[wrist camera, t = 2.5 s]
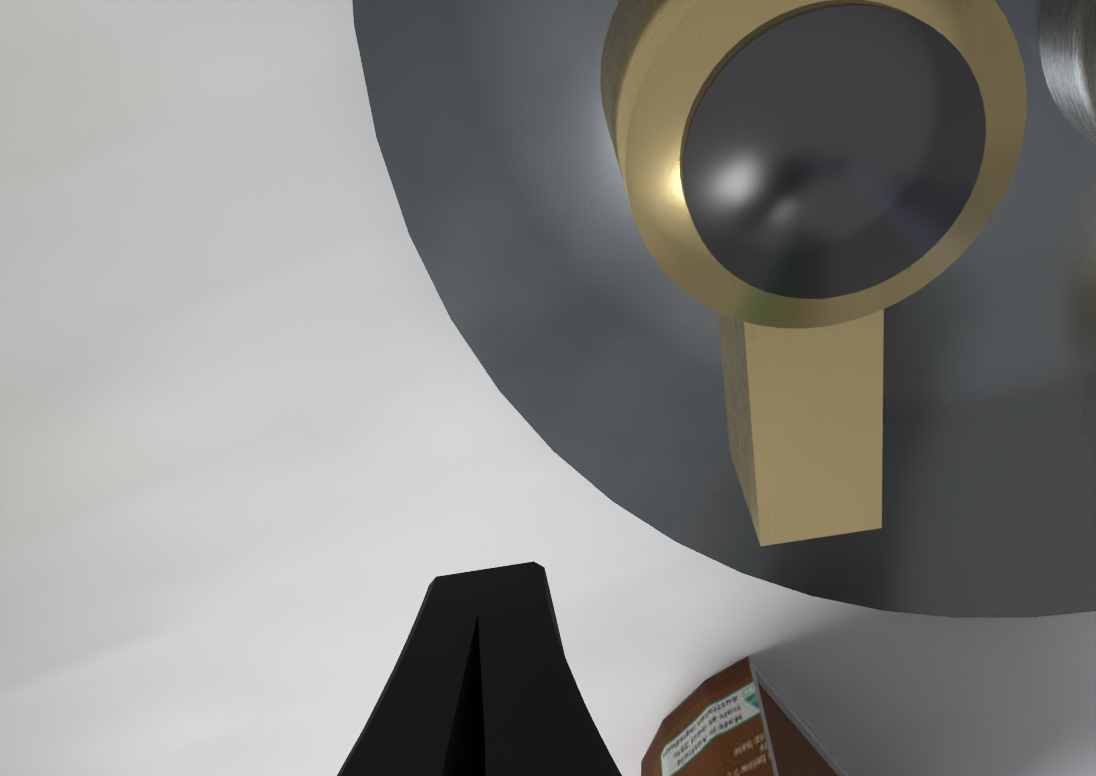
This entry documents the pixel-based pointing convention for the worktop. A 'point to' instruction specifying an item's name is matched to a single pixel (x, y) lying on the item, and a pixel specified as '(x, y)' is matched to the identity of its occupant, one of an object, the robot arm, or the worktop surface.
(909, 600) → the tribrach plate
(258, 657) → the worktop surface
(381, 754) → the robot arm
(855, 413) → the knob
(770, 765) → the food container
